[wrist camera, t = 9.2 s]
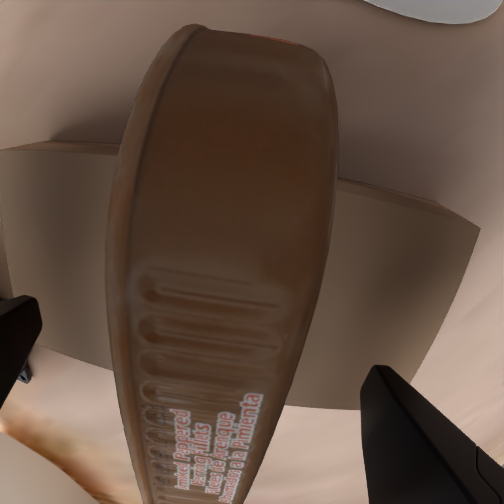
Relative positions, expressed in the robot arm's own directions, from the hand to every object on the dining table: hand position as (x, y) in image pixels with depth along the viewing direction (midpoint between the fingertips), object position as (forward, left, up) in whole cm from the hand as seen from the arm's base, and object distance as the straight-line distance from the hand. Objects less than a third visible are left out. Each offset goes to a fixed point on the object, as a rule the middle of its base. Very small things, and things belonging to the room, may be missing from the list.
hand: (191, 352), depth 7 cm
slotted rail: (0, 0, -5) cm, 5 cm away
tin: (0, 0, -6) cm, 6 cm away
